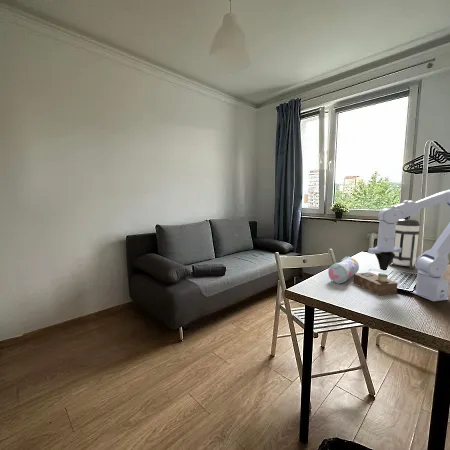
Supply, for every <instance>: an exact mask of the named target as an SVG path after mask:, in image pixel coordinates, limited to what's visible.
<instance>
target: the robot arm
mask: <svg viewBox="0 0 450 450" xmlns="http://www.w3.org/2000/svg"><path fill="white" fill-rule="evenodd" d="M442 203H445V204H446V205H447V206H448V207H449V208H450V189H447V190H443V191H440V192H437V193H435V194H432V195H430V196H427V197H425V198H422V199H419V200H417V201H414V200H408V199H407V200H405V199H404V200H403V201H402V203H399V204H396V205H390V208H382V209H380V211H378V214H376V218H377V219H378V222H379V223H378V230H377V231H378V232H377V244H376V246H375V247H371V248H368V250H367V253H368V254H370V255H375V257H376V258H377V262H378V266H379V269H380V270H382V271H387V270H388V268H389V263H390V262H391V260H392V259H393V258H394V257H395V254H393V253H392V252H401V249H402V248H400V247H394V240H395V229H396V222H398V221H399V219H402V218H405V217H408V216H409V217H411V216H414V215H417V214H418V213H419V212H420V210H421V209H422V210H423V209H424V208H429V207H432V206H435V205H439V204H442ZM409 217H408V218H409ZM449 254H450V221H449V222H448V224H447V225H446V227H445V228H444V230H443V231H442V232H441V234H440V235H439V237H438V238H437V239H436V241H435V242H434V244H433V245H432V247H431V248H430V249H428V250H425V251H424V252H423V253H422V254H421V255H419V256H417V257H416V260H415V267H416V268H417V273H416V284H415V285H416V286H415V289H414V291H413V292H410V293H412V294H414V295H417V296H419V297H422V298H424V299H426V300H429V301H430V302H431V301H432V302H439V301H447V300H449V299H450V298H449V297H448V296H449V288H450V287H449V286H450V283H449V281H448V279H446V278H443V276H444V275H445V274H446V272H447V269H448V268H447V267H448V265H449V263H450V260H449V257H448V255H449Z"/></svg>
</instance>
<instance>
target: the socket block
mask: <svg viewBox="0 0 450 450" xmlns="http://www.w3.org/2000/svg"><path fill="white" fill-rule="evenodd" d="M363 274H369V275H371V277H366V276H364V275H363ZM352 284H353V285H356V286H358V287H361V288H362V289H365V290H367V291H368V292H369V293H370V292H371V293H373V294H374V295H377V296H385V295H393V294H394V295H396V294H397V293H398V282H396V281H394V280H391V279H388V278H387V283H380V282H378V274H376V273H374V272H371V271H370V272H357V273H355V274H354V275H353V276H352Z"/></svg>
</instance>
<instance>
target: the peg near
mask: <svg viewBox="0 0 450 450" xmlns="http://www.w3.org/2000/svg"><path fill="white" fill-rule="evenodd" d="M377 275H378V282H380V283H387V279H388V274H387V273H384V272H383V273H382V272H379V273H378V274H377Z"/></svg>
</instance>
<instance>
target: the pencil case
mask: <svg viewBox="0 0 450 450" xmlns="http://www.w3.org/2000/svg"><path fill="white" fill-rule="evenodd" d="M359 270H360V265H359V262H358V261H357V260H356V259H355V258H353V257H351V256H344V258H342V259H341V261H340V262H335V263H334V264H333V263H332V264H331V266H330V267H329V268H328V273H327V274H328V276H329V278H330V280H331V281H333V282H334V283H336V284H342V283H345V282H346V281H348V280H349V279H350V278H351V277H354V274H355V273H359V272H358V271H359Z"/></svg>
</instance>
